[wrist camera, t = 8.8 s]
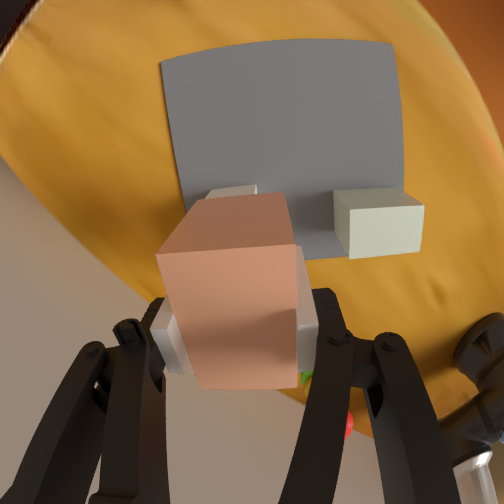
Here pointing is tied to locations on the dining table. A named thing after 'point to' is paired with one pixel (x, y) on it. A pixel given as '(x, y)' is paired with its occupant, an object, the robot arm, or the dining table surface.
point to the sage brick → (377, 221)
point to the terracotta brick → (235, 291)
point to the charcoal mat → (288, 125)
